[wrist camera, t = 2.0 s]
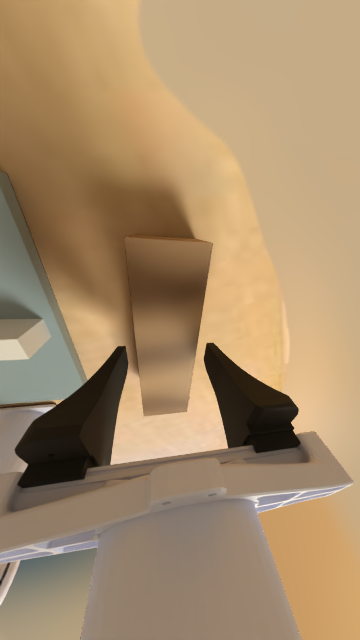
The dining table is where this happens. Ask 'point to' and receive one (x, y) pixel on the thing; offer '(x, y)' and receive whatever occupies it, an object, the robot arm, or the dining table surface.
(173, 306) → the walnut bar
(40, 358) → the ridge stand
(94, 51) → the dining table surface
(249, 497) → the robot arm
